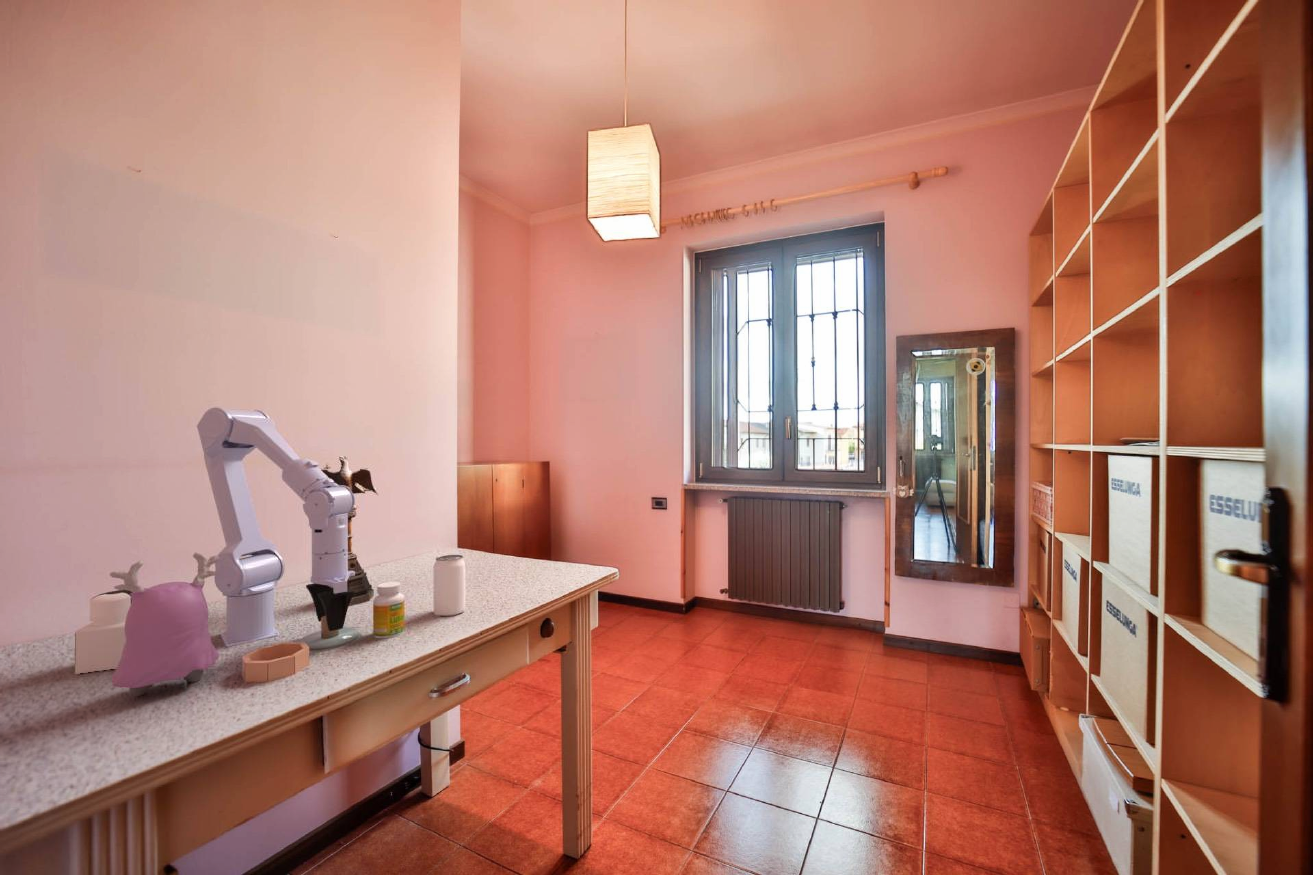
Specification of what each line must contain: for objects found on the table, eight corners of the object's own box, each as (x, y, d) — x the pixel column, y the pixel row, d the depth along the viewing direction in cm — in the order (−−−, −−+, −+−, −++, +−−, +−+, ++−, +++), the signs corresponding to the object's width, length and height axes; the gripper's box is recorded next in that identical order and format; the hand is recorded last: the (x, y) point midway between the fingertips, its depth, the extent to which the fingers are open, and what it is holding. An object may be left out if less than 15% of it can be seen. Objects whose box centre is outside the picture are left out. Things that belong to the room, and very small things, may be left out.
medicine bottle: (99, 659, 90) (100, 589, 90) (153, 652, 93) (153, 584, 93) (73, 675, 84) (74, 600, 84) (132, 667, 86) (132, 595, 87)
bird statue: (323, 591, 132) (323, 453, 132) (380, 586, 136) (380, 452, 136) (300, 610, 116) (300, 454, 117) (366, 604, 120) (366, 453, 121)
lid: (295, 640, 97) (295, 616, 97) (350, 627, 103) (350, 605, 103) (306, 654, 90) (306, 628, 90) (364, 639, 97) (364, 616, 97)
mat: (292, 642, 97) (292, 640, 97) (352, 628, 104) (352, 626, 104) (304, 657, 90) (304, 655, 90) (367, 641, 97) (367, 639, 97)
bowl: (239, 672, 84) (239, 652, 84) (301, 656, 90) (301, 638, 90) (247, 688, 78) (247, 667, 78) (313, 671, 84) (312, 651, 84)
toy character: (217, 666, 87) (217, 545, 87) (221, 686, 79) (222, 554, 80) (112, 690, 78) (113, 557, 79) (106, 715, 71) (107, 568, 71)
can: (471, 610, 115) (471, 556, 115) (445, 618, 109) (445, 561, 110) (453, 606, 118) (452, 553, 119) (427, 613, 113) (427, 558, 113)
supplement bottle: (391, 640, 97) (391, 588, 97) (366, 639, 98) (366, 587, 98) (410, 630, 103) (410, 581, 103) (386, 629, 104) (386, 580, 104)
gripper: (365, 553, 95) (366, 628, 95) (343, 543, 105) (343, 611, 105) (320, 559, 90) (321, 638, 90) (301, 548, 100) (302, 619, 100)
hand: (330, 624), depth 97 cm, fingers open, 7 cm apart
